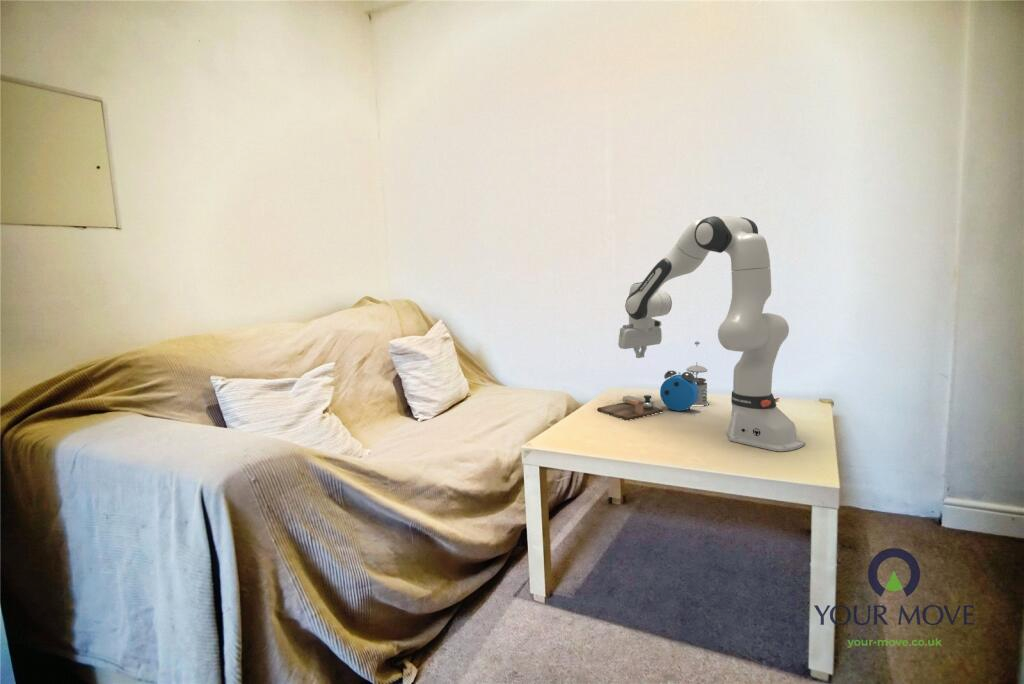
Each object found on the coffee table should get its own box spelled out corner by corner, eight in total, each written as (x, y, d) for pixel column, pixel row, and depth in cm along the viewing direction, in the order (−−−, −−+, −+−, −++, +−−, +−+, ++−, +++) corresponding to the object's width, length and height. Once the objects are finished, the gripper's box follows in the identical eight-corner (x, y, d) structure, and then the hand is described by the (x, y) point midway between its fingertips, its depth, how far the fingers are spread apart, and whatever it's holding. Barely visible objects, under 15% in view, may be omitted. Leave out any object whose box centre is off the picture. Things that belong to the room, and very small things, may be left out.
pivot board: (662, 412, 200) (663, 409, 199) (627, 420, 191) (627, 417, 190) (632, 403, 214) (632, 400, 214) (597, 410, 205) (597, 407, 205)
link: (656, 407, 201) (656, 396, 200) (647, 409, 199) (647, 398, 198) (629, 400, 213) (629, 389, 212) (621, 401, 211) (621, 391, 210)
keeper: (644, 412, 196) (644, 401, 195) (638, 414, 194) (638, 402, 193) (631, 409, 201) (631, 397, 201) (625, 410, 200) (625, 399, 199)
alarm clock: (698, 410, 201) (699, 371, 199) (693, 414, 196) (693, 374, 194) (665, 405, 209) (665, 368, 207) (659, 409, 204) (659, 371, 202)
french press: (684, 406, 207) (685, 343, 204) (681, 398, 218) (682, 338, 215) (711, 406, 205) (712, 342, 201) (707, 399, 216) (708, 338, 213)
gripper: (625, 326, 202) (625, 361, 204) (664, 321, 212) (664, 355, 214) (614, 324, 207) (614, 359, 209) (652, 320, 217) (652, 353, 219)
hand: (640, 357), depth 211 cm, fingers closed
